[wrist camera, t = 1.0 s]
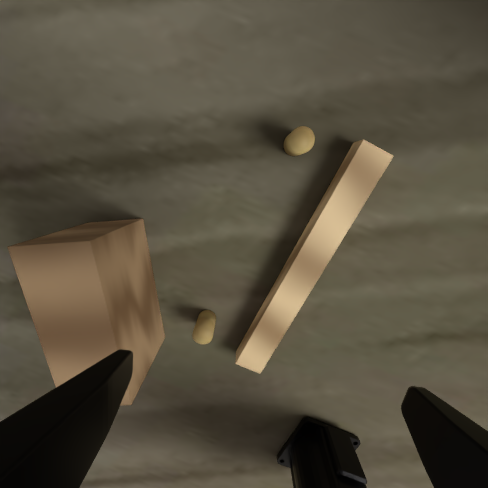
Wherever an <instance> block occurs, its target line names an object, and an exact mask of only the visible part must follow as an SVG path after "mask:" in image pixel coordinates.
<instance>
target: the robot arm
mask: <svg viewBox="0 0 488 488" xmlns="http://www.w3.org/2000/svg"><path fill="white" fill-rule="evenodd" d="M132 373H133V352H132V351H131V350H124V349H119V350H117V351H115V352H113V353H112V354H110V355H109V356H107V357H105V358H104V359H102V360H100V361H99V362H97V363H95V364H94V365H92V366H91V367H89V368H87V369H86V370H84V371H82V372H81V373H79V374H78V375H76V376H74V377H73V378H71V379H69V380H68V381H66V382H64V383H63V384H61V385H60V386H58V387H56V388H55V389H53V390H51V391H50V392H48V393H46V394H45V395H43V396H42V397H40V398H38V399H37V400H35V401H33V402H32V403H30V404H29V405H27V406H25V407H24V408H22V409H20V410H19V411H17V412H15V413H14V414H12V415H11V416H9V417H7V418H6V419H4V420H2V421H1V422H0V488H79V487H80V485H81V483H82V482H83V480H84V478H85V476H86V474H87V472H88V470H89V468H90V467H91V465H92V463H93V461H94V459H95V457H96V455H97V453H98V452H99V450H100V448H101V446H102V444H103V442H104V440H105V438H106V436H107V434H108V432H109V430H110V428H111V425H112V423H113V421H114V418H115V416H116V414H117V411H118V409H119V407H120V404H121V402H122V399H123V397H124V395H125V392H126V390H127V388H128V385H129V383H130V380H131V377H132ZM401 410H402V414H403V417H404V419H405V422H406V424H407V426H408V429H409V431H410V434H411V436H412V439H413V441H414V444H415V446H416V448H417V451H418V453H419V456H420V458H421V461H422V463H423V465H424V467H425V470H426V472H427V474H428V476H429V478H430V480H431V482H432V484H433V486H434V488H488V431H487V430H485V429H484V428H482V427H481V426H479V425H478V424H476V423H475V422H473V421H472V420H471V419H469V418H468V417H466V416H465V415H463V414H462V413H460V412H459V411H457V410H456V409H454V408H453V407H452V406H450V405H449V404H447V403H446V402H444V401H443V400H441V399H440V398H438V397H437V396H436V395H434V394H433V393H431V392H430V391H428V390H427V389H425V388H423V387H416V386H410V387H409V388H408V390H407V392H406V395H405V397H404V400H403V402H402V405H401ZM359 445H360V440H359V438H358V437H357V436H355V435H352V434H350V433H347V432H345V431H342V430H340V429H337V428H335V427H332V426H329V425H327V424H324V423H322V422H319V421H317V420H314V419H312V418H308V417H307V418H304V419H303V420H302V422H301V423H300V424H299V426H298V427H297V429H296V430H295V431H294V433H293V434H292V436H291V437H290V438H289V440H288V441H287V443H286V444H285V445H284V447H283V448H282V450H281V451H280V452H279V454H278V455H277V462H278V464H280V465H283V466H286V467H289V468H291V474H292V481H293V487H294V488H367V487H366V484H367V480H366V477H365V474H364V472H363V469H362V467H361V464H360V462H359V459H358V457H357V454H356V452H355V450H356V449H357V448H358V446H359Z"/></svg>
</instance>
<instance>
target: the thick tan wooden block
mask: <svg viewBox="0 0 488 488" xmlns="http://www.w3.org/2000/svg"><path fill="white" fill-rule="evenodd" d="M8 250H9V253H10V256H11V259H12V262H13V265H14V267H15V270H16V273H17V276H18V279H19V282H20V285H21V288H22V291H23V293H24V296H25V299H26V302H27V305H28V308H29V311H30V314H31V317H32V319H33V322H34V325H35V328H36V331H37V334H38V337H39V340H40V342H41V345H42V348H43V351H44V354H45V357H46V360H47V363H48V366H49V368H50V371H51V374H52V377H53V380H54V383H55V386H56V387H58V386H60V385H61V384H63V383H64V382H66V381H68V380H69V379H71V378H73V377H74V376H76V375H78V374H79V373H81V372H82V371H84V370H86V369H87V368H89V367H91V366H92V365H94V364H95V363H97V362H99V361H100V360H102V359H104V358H105V357H107V356H109V355H110V354H112V353H113V352H115V351H117V350H119V349H124V350H131V351H132V352H133V373H132V377H131V380H130V383H129V385H128V388H127V390H126V392H125V395H124V397H123V399H122V402H121V404H120V405H132V403H133V401H134V399H135V397H136V395H137V393H138V391H139V389H140V387H141V385H142V383H143V381H144V379H145V377H146V375H147V373H148V371H149V368H150V366H151V364H152V362H153V360H154V358H155V356H156V354H157V352H158V350H159V348H160V346H161V344H162V342H163V340H164V338H165V334H164V329H163V323H162V318H161V313H160V307H159V302H158V296H157V291H156V286H155V280H154V275H153V270H152V264H151V259H150V254H149V248H148V243H147V237H146V232H145V227H144V221H143V219H130V220H117V221H103V222H90V223H85V224H81V225H78V226H75V227H71V228H68V229H65V230H61V231H58V232H55V233H52V234H48V235H45V236H42V237H38V238H35V239H32V240H28V241H25V242H22V243H18V244H15V245H12V246H8Z"/></svg>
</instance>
